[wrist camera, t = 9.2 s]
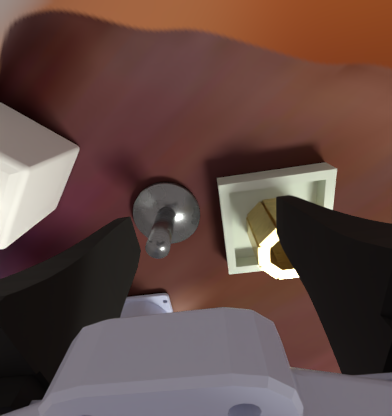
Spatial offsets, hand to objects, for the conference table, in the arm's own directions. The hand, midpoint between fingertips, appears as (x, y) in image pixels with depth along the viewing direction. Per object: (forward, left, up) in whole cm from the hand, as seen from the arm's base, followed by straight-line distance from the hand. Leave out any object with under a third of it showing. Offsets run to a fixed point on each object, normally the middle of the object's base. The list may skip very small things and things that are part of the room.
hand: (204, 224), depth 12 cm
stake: (-4, +4, -10) cm, 12 cm away
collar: (-6, -6, -10) cm, 13 cm away
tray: (-6, -6, -10) cm, 13 cm away
